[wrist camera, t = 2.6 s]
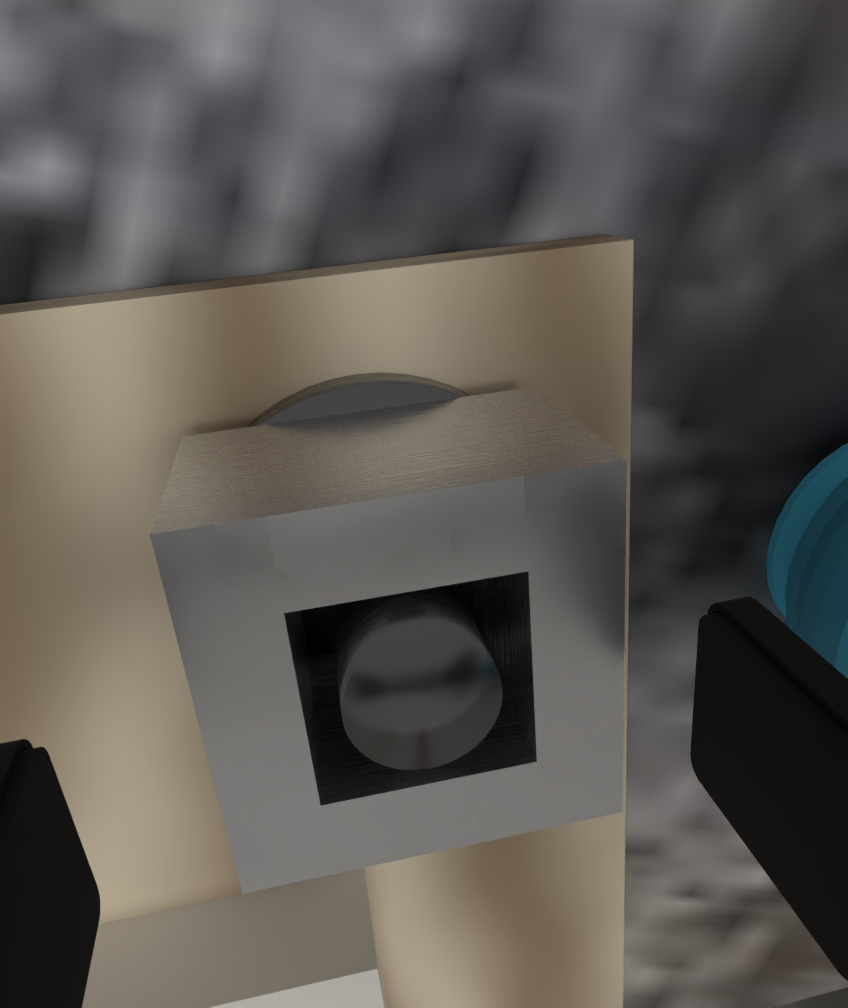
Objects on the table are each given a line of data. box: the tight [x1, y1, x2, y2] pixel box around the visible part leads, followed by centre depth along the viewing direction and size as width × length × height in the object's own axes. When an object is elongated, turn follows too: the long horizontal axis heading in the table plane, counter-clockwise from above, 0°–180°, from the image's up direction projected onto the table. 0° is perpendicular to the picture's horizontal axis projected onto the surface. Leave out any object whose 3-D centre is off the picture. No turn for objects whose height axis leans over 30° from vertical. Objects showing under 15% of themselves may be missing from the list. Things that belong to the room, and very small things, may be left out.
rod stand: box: [247, 372, 503, 770], centre depth 15 cm, size 8×8×6 cm
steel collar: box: [150, 387, 627, 894], centre depth 15 cm, size 7×7×4 cm
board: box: [0, 235, 634, 1008], centre depth 21 cm, size 18×26×2 cm
